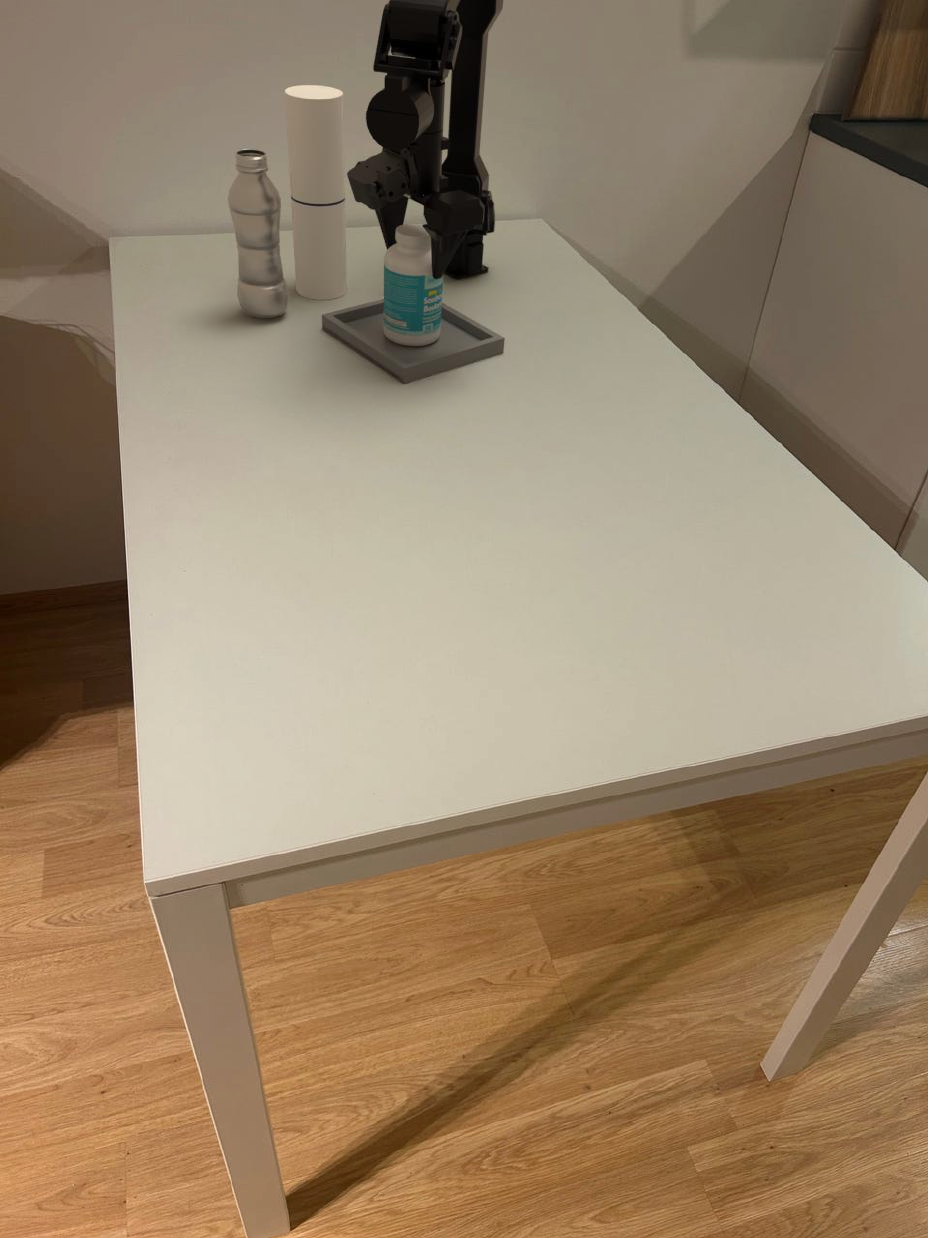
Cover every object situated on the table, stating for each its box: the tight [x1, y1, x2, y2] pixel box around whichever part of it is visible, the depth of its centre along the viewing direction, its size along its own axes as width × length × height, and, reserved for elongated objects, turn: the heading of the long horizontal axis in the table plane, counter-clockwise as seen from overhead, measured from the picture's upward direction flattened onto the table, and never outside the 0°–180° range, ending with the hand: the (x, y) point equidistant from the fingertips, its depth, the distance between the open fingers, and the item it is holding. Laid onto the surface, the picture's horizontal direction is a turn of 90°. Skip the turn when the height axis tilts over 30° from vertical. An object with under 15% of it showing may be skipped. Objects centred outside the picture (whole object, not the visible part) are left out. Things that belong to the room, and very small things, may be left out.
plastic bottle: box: [227, 148, 289, 319], centre depth 118 cm, size 6×7×20 cm
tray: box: [321, 298, 506, 385], centre depth 121 cm, size 18×16×2 cm
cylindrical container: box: [284, 84, 348, 301], centre depth 124 cm, size 7×7×25 cm
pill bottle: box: [383, 223, 444, 346], centre depth 117 cm, size 8×7×14 cm
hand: (414, 265), depth 115 cm, fingers open, 9 cm apart
